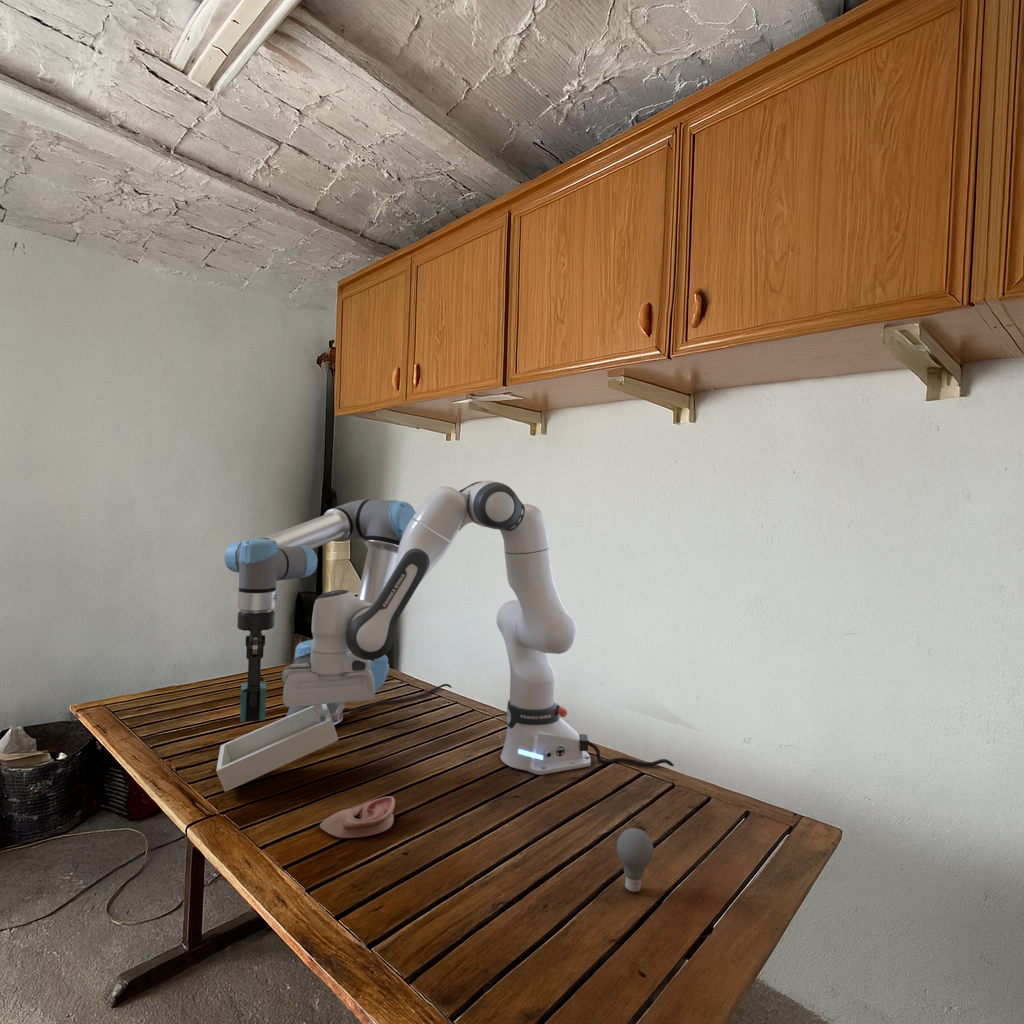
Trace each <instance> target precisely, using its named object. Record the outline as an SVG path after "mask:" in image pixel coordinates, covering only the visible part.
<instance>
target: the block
mask: <svg viewBox="0 0 1024 1024" xmlns="http://www.w3.org/2000/svg"><path fill="white" fill-rule="evenodd" d="M260 686H261V689H260V714H259V721H266V704H267V703H266V702H267V681H260ZM247 687H248V682H241V687H240V707H239V711H240V712H239V713H240V714H239V715H240V716H239V723H244V722H245V723H247V722H246V698H247V692H244V689H247ZM259 721H258V722H259Z"/></svg>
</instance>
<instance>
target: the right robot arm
mask: <svg viewBox="0 0 1024 1024" xmlns="http://www.w3.org/2000/svg"><path fill="white" fill-rule="evenodd" d="M415 512H416V513H415V514H414V516H413V517H412V518H414V519H415V520H417V521H418V522H417V521H415V520H414V519H411V520H410V522H409V524H408V525H407V527H406V529H405V531H404V534H403V536H402V538H401V541H400V544H399V548H398V555H397V560H396V564H395V567H394V570H393V572H392V574H391V576H390V578H389V579H388V581H387V583H386V584H385V586H384V588H383V589H382V591H381V592H380V594H379V596H378V597H377V599H376V601H375V602H374V604H372V603H369V602H366V601H364V600H361V599H359V598H357V596H356V595H354V594H353V593H352V592H351V591H349V590H346V589H337V590H330V591H327V592H324V593H322V594H320V595H319V596H318V597H317V598H316V599H315V601H314V604H313V609H312V617H311V634H312V640H313V643H312V646H311V660H310V663H302V664H294V663H290V664H289V665H287V666H284V668H283V669H282V670H281V682H282V683H283V689H282V701H281V702H282V704H283V705H284V706H285V707H286V708H289V707H292V706H305V705H313V708H314V711H315V712H316V714H317V716H318V724H319V723H321V722H324V721H325V715H324V713H322V714H321V713H320V711H319V709H320V704H332V703H338V709H337V711H336V712H334V713H332V722H339V715H340V714H341V712H343V711H342V710H343V709H344V708H346V707H345V706H346V703H356V702H370V701H372V700H374V698H375V696H376V692H375V683H374V677H373V674H372V672H371V671H370V667H371V663H370V660H375V659H378V658H380V657H382V656H384V655H387V654H388V652H389V651H390V650H391V649H392V647H393V645H394V641H395V636H396V635H395V634H396V628H397V623H398V621H399V619H400V617H401V615H402V613H403V612H404V610H405V609H406V607H407V605H408V603H409V602H410V600H411V599H412V597H413V595H414V594H415V592H416V590H417V588H418V587H419V586H420V584H421V582H422V581H423V580H424V579H425V578H426V577H427V576H428V574H430V572H431V571H432V570H433V568H435V566H436V565H437V564H438V563H439V562H440V561H441V559H442V558H443V557H444V555H445V554H446V553H447V551H448V550H449V549H450V547H451V545H452V544H453V542H454V540H455V539H456V538H457V535H458V534H459V532H460V531H462V529H463V528H464V527H466V525H468V524H471V523H474V524H476V525H478V526H480V527H482V528H489V529H492V530H499V532H500V534H501V536H502V539H503V551H504V559H505V560H504V561H505V569H506V577H507V583H508V585H509V587H510V588H511V589H512V591H513V592H514V594H515V596H516V598H517V599H512V600H507V601H506V602H505V603H503V604H502V605H501V606H500V608H499V609H498V611H497V614H496V626H497V628H498V630H499V632H500V634H501V635H502V638H503V641H504V645H505V649H506V654H507V659H508V664H509V679H510V680H509V700H508V701H507V708H506V724H507V728H506V733H505V739H504V744H503V747H502V751H501V753H500V761H501V762H502V763H503V764H505V765H506V766H508V767H511V768H514V769H517V770H520V771H526V772H529V773H531V774H534V775H538V776H543V775H547V774H548V775H549V774H554V773H559V772H565V771H572V770H577V769H582V768H587V767H590V766H591V765H592V758H591V755H590V754H589V753H588V752H589V747H590V748H592V749H593V750H594V751H595V754H596V759H597V761H598V762H600V763H601V764H612V763H619V762H622V763H624V762H625V763H629V764H633V765H637V766H642V767H654V766H658V765H661V764H667V766H670V767H675V765H674V764H673V762H672V761H670V760H669V759H666V758H660V759H657V760H654V761H650V762H649V761H641V760H637V759H632V758H627V757H614V758H611V759H605V758H604V759H603V758H602V757H601V751H600V749H599V747H598V746H597V745H596V744H594V743H593V742H591V740H590V741H589V738H588V734H585V733H583V734H582V733H579V732H577V730H576V729H574V727H573V726H571V725H570V724H569V723H568V722H567V721H565V720H564V719H562V718H565V717H566V716H567V715H568V711H567V708H564V706H561V705H560V704H558V703H556V702H555V685H556V673H555V670H554V668H553V665H551V662H550V661H549V659H548V656H547V654H551V655H552V654H553V655H560V654H565V653H566V652H568V651H569V650H570V649H571V648H572V647H573V645H574V644H575V642H576V638H577V634H578V630H577V624H576V621H575V620H574V618H572V616H571V615H570V614H569V613H568V610H567V609H566V608H565V606H564V604H563V602H562V600H561V597H560V594H559V592H558V589H557V586H556V583H555V579H554V574H553V568H552V567H553V566H552V561H551V552H550V543H549V537H548V536H549V535H548V531H547V526H546V523H545V519H544V516H543V512H542V511H541V510H540V509H539V508H538V507H537V506H535V505H533V504H530V503H523V502H522V501H521V500H520V498H519V497H518V495H517V494H516V492H515V491H514V490H513V489H512V488H511V487H510V486H509V485H507V484H505V483H502V482H499V481H495V480H482V481H475V482H472V483H471V484H469V485H467V486H465V487H464V488H462V489H460V490H458V489H456V488H455V487H452V486H451V487H450V486H438V487H437V488H435V489H434V490H433V491H432V492H431V493H430V494H429V495H428V497H426V499H425V500H424V501H423V502H422V503H421V504H420V506H419V507H418V509H417V510H415Z"/></svg>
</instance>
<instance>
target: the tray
mask: <svg viewBox="0 0 1024 1024" xmlns="http://www.w3.org/2000/svg"><path fill="white" fill-rule="evenodd" d="M319 711H320V713H321V714H322V713H324V715H325V721H324V722H321V723H319V724H318V716H317V714H316V712H315V711H314V708H313V706H311V707H308V708H306V709H304V710H301V711H299V712H297V713H294V714H292V715H290V716H287V717H286V716H285V717H283V718H281V719H278V720H276V721H274V722H271V723H269V724H267V725H264V726H261V727H260V728H258V729H255V730H253V731H251V732H248V733H246V734H244V735H241V736H239V737H236V738H234V739H232V740H229V741H227V742H224V743H223V744H221V745H220V747H219V753H218V758H217V765H216V770H215V772H216V774H217V777H218V778H219V781H220V784H221V786H222V789H223V792H224V793H226V792H229V791H230V790H233V789H235V788H237V787H239V786H243V785H244V784H246V783H248V782H250V781H252V780H255V779H257V778H259V777H262V776H264V775H265V774H268V773H270V772H272V771H274V770H277V769H280V768H281V767H284V766H287V765H288V764H289V763H292V762H294V761H297V760H299V759H302V758H303V757H305V756H307V755H309V754H312V753H313V752H316V751H318V750H320V749H323V748H325V747H327V746H329V745H331V744H333V743H336V742H338V741H339V738H338V734H337V730H336V727H334V724H333V722H332V717H331V715H330V712H329V709H328V707H327V704H320V709H319Z"/></svg>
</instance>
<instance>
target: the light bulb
mask: <svg viewBox="0 0 1024 1024" xmlns="http://www.w3.org/2000/svg"><path fill="white" fill-rule="evenodd" d="M616 852H617V856H618V858H619V860H620V862H621V864H622V866H623V872H624V875H625V882H624V887H625V889H627V890H628V891H630V892H633V893H634V892H635V893H636V892H639V891H641V889H642V878H643V876H644V875H645V869H646V868H647V867H648V865H649V864H650V862H651V860H652V858H653V855H654V845H653V842H652V840H651V838H650V836H649V835H648V834H647V832H645V831H644V830H642V829H640V828H636V827H629V828H627V829H625V830H624V831H623V832H622V833H620V835H619V836H618V839H617V841H616Z"/></svg>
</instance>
